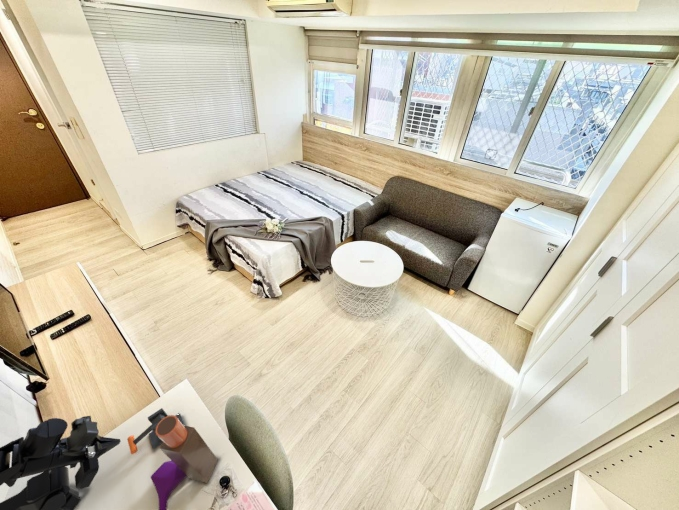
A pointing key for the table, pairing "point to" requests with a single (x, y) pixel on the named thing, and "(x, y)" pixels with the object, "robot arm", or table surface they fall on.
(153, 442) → the switch base
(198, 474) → the cup stand
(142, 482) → the table surface
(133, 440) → the switch lever
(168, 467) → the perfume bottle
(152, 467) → the table surface
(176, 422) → the tea cup
